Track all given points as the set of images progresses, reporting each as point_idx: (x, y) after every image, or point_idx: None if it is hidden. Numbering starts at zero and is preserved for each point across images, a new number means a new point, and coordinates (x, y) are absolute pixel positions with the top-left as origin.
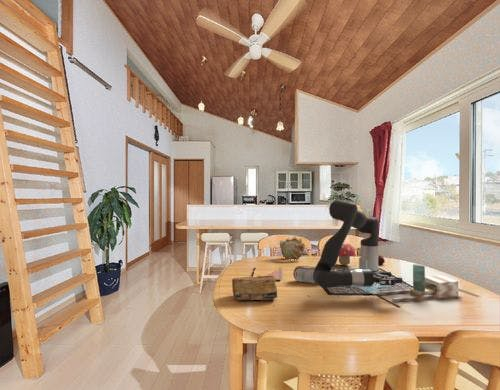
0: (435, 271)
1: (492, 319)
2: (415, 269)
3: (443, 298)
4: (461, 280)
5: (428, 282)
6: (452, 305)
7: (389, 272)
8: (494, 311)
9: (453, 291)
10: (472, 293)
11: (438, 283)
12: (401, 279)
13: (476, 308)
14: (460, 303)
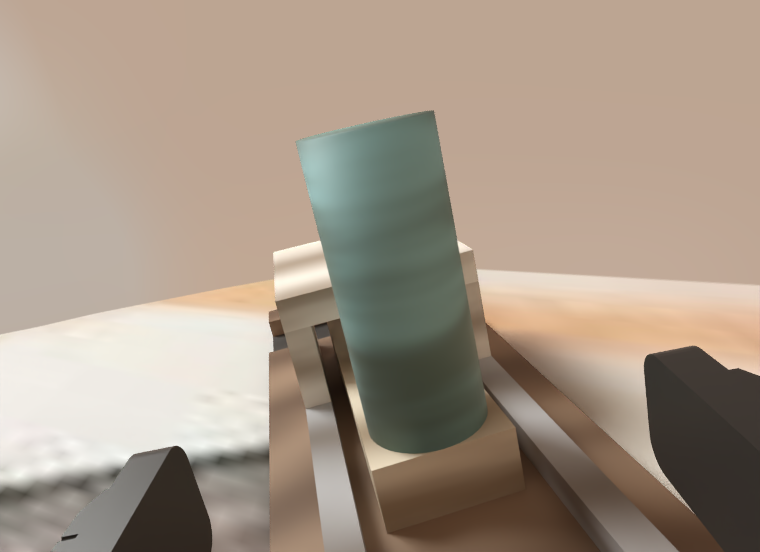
0: (5, 336)
1: (756, 290)
2: (405, 173)
3: (499, 362)
4: (169, 299)
5: None
6: (566, 367)
7: (165, 469)
8: (599, 277)
9: None
10: None
11: (469, 258)
12: (743, 377)
13: (579, 307)
14: (508, 337)
